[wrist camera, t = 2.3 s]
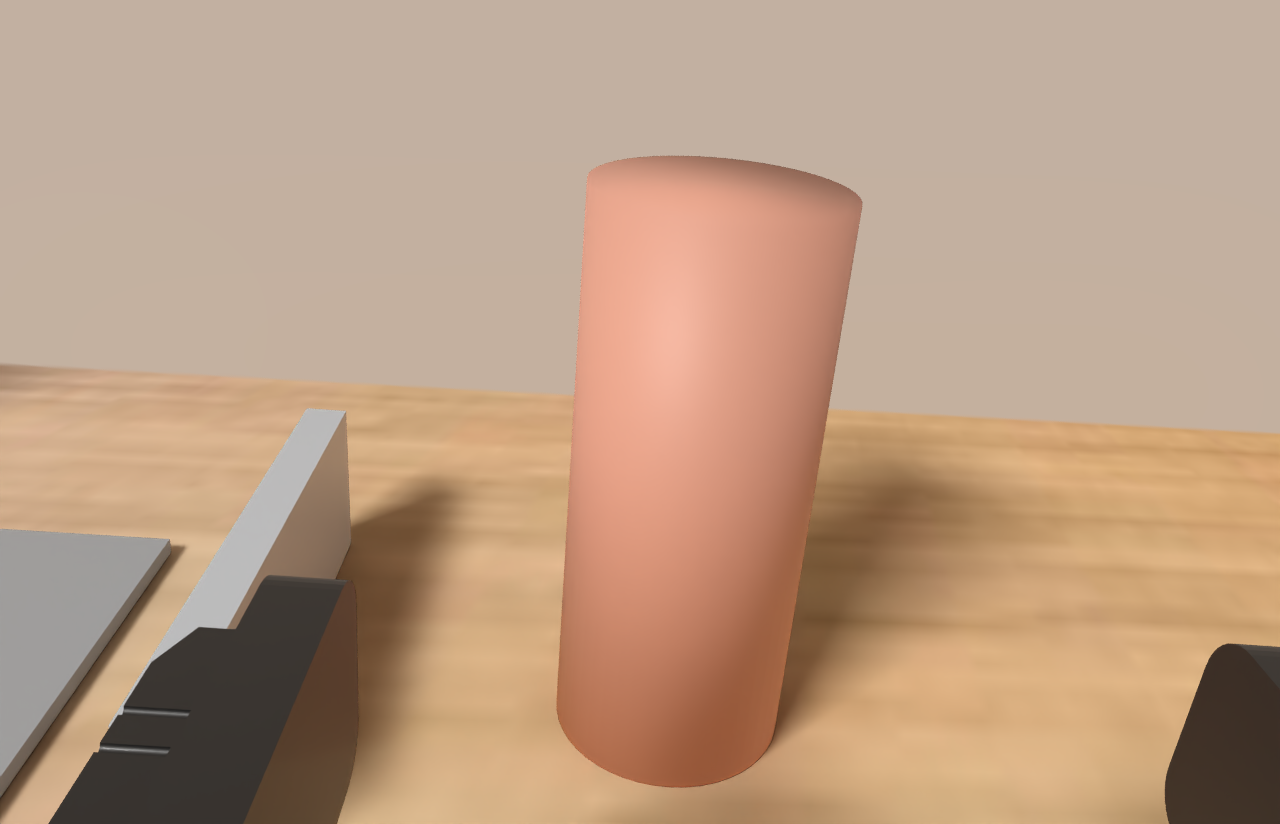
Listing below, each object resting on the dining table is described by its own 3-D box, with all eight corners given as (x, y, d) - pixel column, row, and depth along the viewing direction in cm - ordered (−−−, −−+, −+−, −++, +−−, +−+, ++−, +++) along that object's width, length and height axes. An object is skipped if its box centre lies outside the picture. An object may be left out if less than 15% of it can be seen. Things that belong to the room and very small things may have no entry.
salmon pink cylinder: (762, 645, 27) (836, 166, 22) (788, 793, 23) (889, 235, 18) (563, 633, 27) (591, 147, 22) (549, 780, 23) (581, 212, 18)
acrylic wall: (351, 542, 30) (345, 411, 28) (194, 906, 19) (171, 729, 18) (314, 540, 30) (307, 408, 28) (137, 903, 19) (108, 725, 18)
